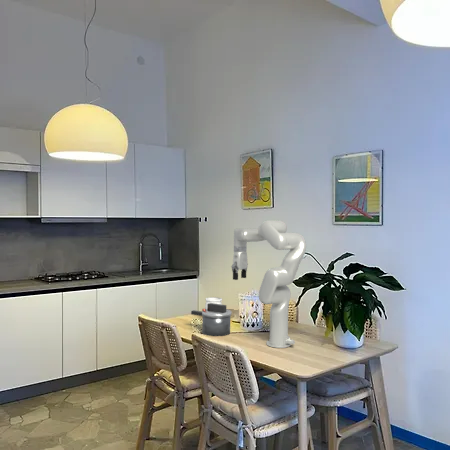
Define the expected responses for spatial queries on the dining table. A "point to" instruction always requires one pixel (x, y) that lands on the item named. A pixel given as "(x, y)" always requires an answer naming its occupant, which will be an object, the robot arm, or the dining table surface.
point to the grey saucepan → (214, 324)
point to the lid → (216, 310)
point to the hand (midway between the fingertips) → (239, 278)
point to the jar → (213, 301)
